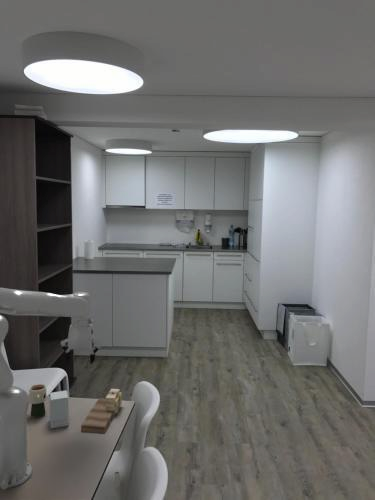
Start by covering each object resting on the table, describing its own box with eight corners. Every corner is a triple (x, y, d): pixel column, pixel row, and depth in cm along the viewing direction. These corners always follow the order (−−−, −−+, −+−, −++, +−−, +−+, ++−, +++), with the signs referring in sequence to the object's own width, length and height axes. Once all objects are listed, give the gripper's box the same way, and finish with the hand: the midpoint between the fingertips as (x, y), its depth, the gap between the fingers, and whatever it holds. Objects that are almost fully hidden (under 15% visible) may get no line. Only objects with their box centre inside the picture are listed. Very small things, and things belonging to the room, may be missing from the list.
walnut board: (104, 433, 162) (104, 427, 162) (81, 431, 163) (81, 425, 163) (119, 404, 186) (119, 399, 186) (99, 403, 187) (99, 398, 186)
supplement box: (68, 425, 167) (68, 397, 166) (50, 428, 164) (50, 400, 163) (67, 417, 174) (67, 389, 172) (49, 420, 171) (49, 392, 170)
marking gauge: (116, 413, 175) (116, 397, 174) (105, 412, 175) (105, 397, 175) (121, 403, 184) (121, 388, 183) (111, 402, 184) (111, 388, 184)
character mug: (47, 419, 171) (47, 391, 170) (29, 422, 168) (29, 393, 167) (45, 408, 181) (45, 381, 180) (29, 410, 178) (28, 383, 177)
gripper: (103, 320, 165) (103, 359, 167) (64, 318, 167) (64, 357, 169) (98, 325, 158) (98, 366, 160) (56, 323, 159) (57, 364, 161)
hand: (81, 361), depth 164 cm, fingers open, 9 cm apart
